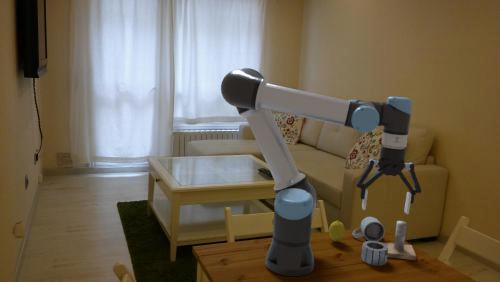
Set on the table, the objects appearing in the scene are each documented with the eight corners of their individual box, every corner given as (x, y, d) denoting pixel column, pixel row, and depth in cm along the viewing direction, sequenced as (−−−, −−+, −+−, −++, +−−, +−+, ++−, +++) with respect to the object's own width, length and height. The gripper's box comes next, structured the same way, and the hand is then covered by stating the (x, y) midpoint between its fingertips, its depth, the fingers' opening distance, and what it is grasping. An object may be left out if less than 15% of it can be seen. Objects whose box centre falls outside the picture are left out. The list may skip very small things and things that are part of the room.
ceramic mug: (378, 233, 175) (379, 214, 174) (384, 242, 167) (385, 222, 166) (350, 233, 175) (351, 213, 174) (354, 241, 167) (356, 221, 166)
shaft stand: (384, 256, 155) (388, 225, 153) (381, 246, 164) (384, 216, 162) (415, 260, 154) (419, 229, 152) (410, 249, 162) (414, 219, 160)
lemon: (324, 241, 166) (326, 219, 164) (334, 237, 170) (336, 216, 168) (337, 246, 162) (339, 224, 160) (346, 242, 166) (348, 221, 164)
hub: (362, 263, 149) (363, 249, 148) (360, 253, 157) (361, 239, 156) (387, 266, 148) (389, 252, 147) (384, 256, 156) (386, 242, 155)
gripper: (355, 145, 142) (347, 211, 146) (438, 152, 141) (427, 218, 145) (351, 140, 149) (344, 203, 154) (430, 147, 148) (421, 210, 152)
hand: (384, 210), depth 149 cm, fingers open, 13 cm apart
